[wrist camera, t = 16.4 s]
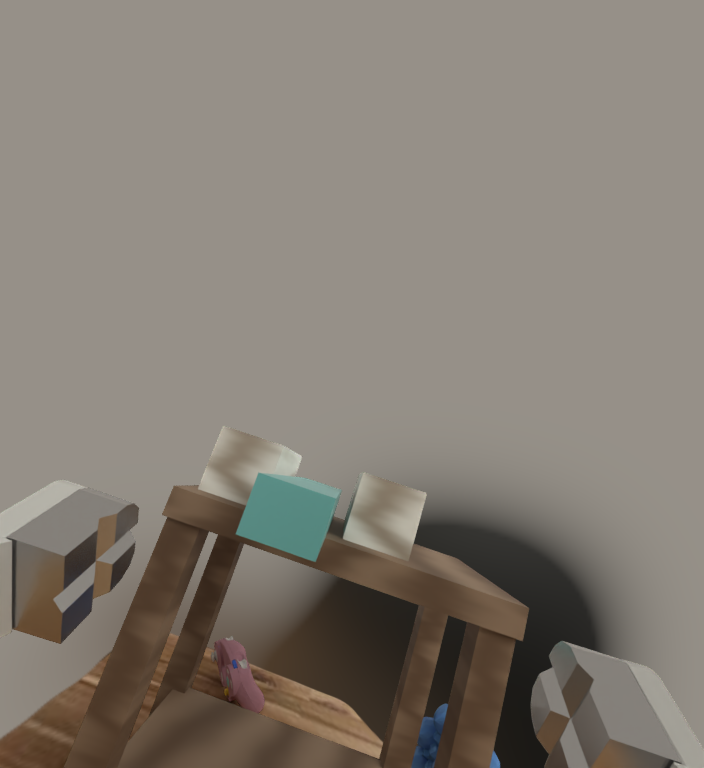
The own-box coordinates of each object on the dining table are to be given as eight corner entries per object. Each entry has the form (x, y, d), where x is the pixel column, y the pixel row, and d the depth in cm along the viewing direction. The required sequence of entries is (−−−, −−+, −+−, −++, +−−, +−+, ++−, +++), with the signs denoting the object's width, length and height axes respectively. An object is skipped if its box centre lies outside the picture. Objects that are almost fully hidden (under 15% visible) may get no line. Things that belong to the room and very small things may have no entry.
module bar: (332, 518, 42) (341, 490, 43) (315, 562, 19) (336, 498, 20) (296, 506, 43) (306, 478, 43) (235, 534, 19) (258, 472, 20)
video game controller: (210, 682, 56) (206, 633, 56) (243, 668, 59) (239, 620, 59) (230, 732, 48) (225, 673, 48) (267, 712, 51) (262, 657, 50)
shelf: (387, 842, 38) (468, 512, 45) (420, 1149, 20) (544, 531, 28) (141, 746, 40) (256, 442, 47) (-23, 955, 22) (202, 417, 29)
